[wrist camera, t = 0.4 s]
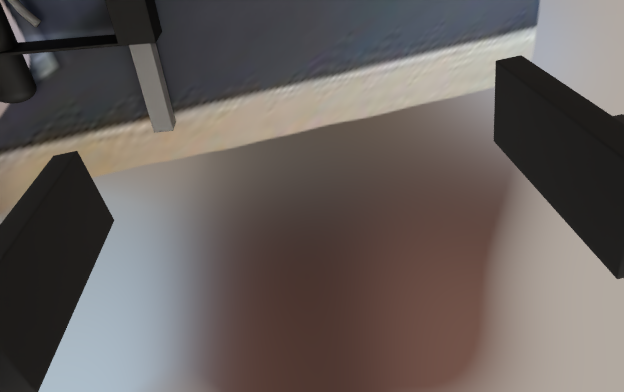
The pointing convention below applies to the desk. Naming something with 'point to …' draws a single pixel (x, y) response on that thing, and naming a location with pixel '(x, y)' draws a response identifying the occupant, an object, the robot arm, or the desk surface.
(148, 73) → the door handle
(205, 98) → the desk surface
